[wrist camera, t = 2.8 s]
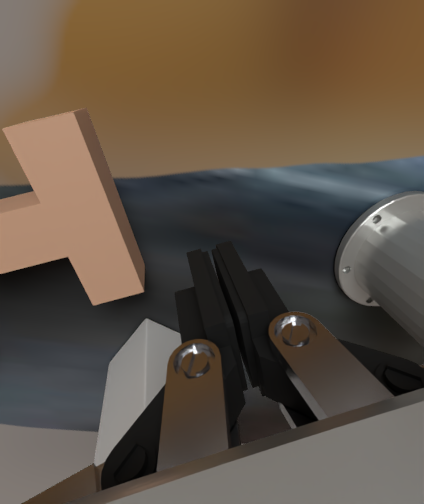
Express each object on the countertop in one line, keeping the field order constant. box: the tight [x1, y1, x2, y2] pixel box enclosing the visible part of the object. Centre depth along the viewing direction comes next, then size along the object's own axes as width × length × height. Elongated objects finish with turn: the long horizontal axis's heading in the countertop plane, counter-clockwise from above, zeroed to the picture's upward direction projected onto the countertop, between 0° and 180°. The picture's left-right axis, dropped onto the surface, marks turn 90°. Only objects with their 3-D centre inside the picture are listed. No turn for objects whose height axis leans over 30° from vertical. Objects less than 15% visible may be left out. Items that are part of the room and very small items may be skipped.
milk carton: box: [94, 319, 182, 467], centre depth 24 cm, size 7×7×19 cm
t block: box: [0, 108, 145, 305], centre depth 22 cm, size 12×13×4 cm
